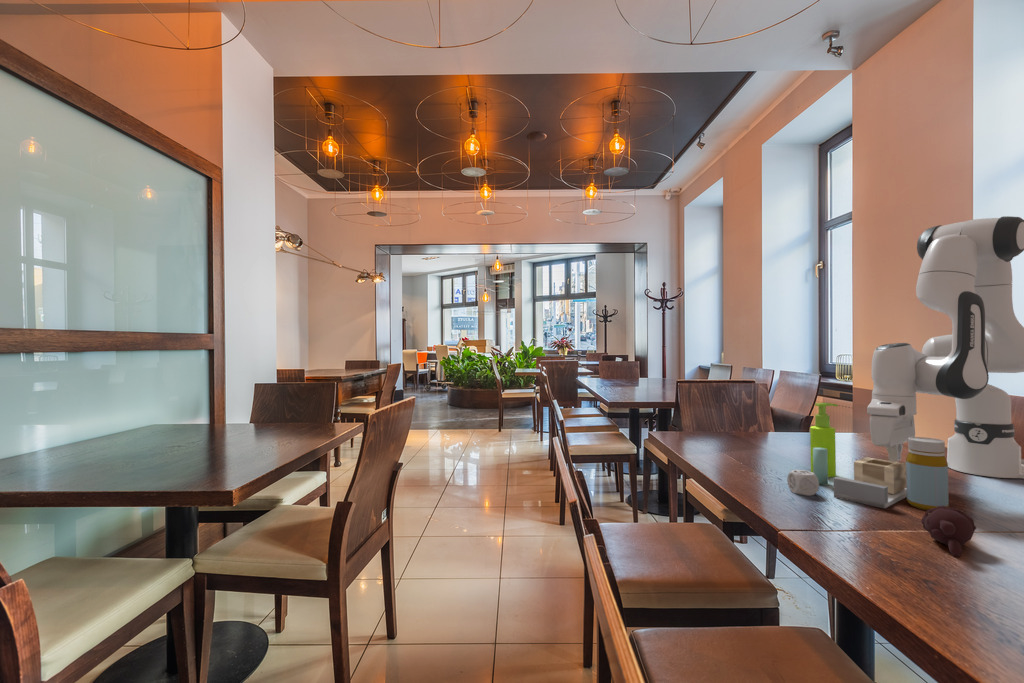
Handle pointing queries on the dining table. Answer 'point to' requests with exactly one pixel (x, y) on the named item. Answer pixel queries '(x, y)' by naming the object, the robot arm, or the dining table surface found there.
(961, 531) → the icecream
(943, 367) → the robot arm
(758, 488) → the dining table surface
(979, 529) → the dining table surface
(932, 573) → the dining table surface
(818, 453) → the dowel
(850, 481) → the grey l-shaped tray
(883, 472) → the block
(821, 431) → the soap dispenser
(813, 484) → the die
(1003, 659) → the dining table surface
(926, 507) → the bottle
